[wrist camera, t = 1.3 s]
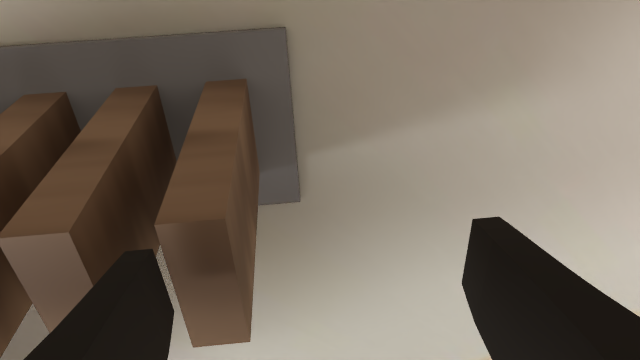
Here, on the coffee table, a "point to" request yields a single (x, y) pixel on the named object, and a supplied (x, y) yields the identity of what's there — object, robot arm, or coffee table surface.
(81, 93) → the grey flat rectangular plate
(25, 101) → the walnut tile
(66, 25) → the coffee table surface
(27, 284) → the walnut tile
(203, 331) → the walnut tile
